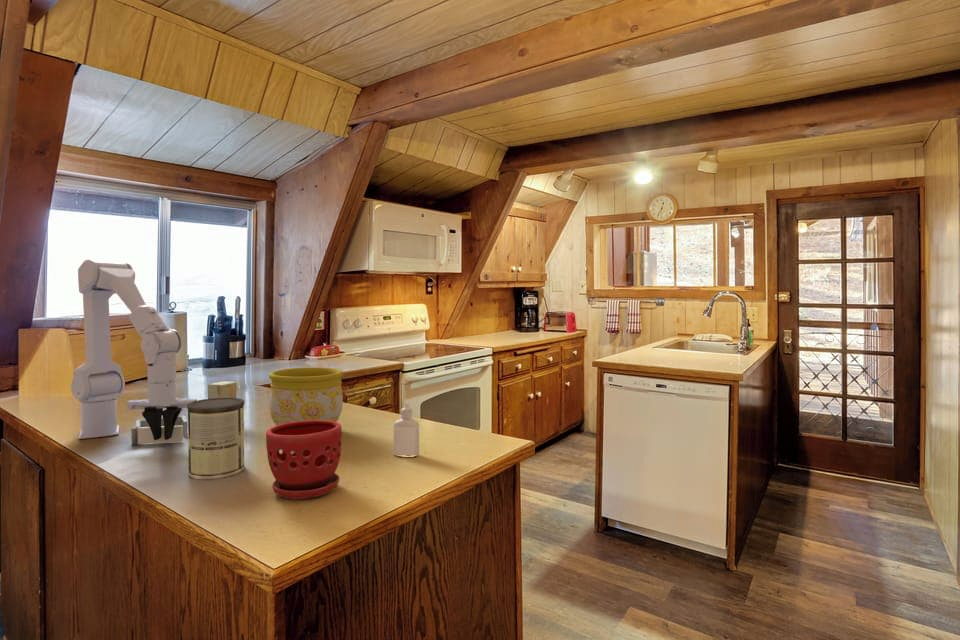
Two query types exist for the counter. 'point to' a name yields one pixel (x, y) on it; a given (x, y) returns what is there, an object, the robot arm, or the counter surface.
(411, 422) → the eye dropper bottle
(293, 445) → the plant pot
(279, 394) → the flowerpot
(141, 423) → the open grey tray
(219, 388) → the skincare box
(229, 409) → the coffee can
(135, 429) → the cover
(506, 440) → the counter surface
